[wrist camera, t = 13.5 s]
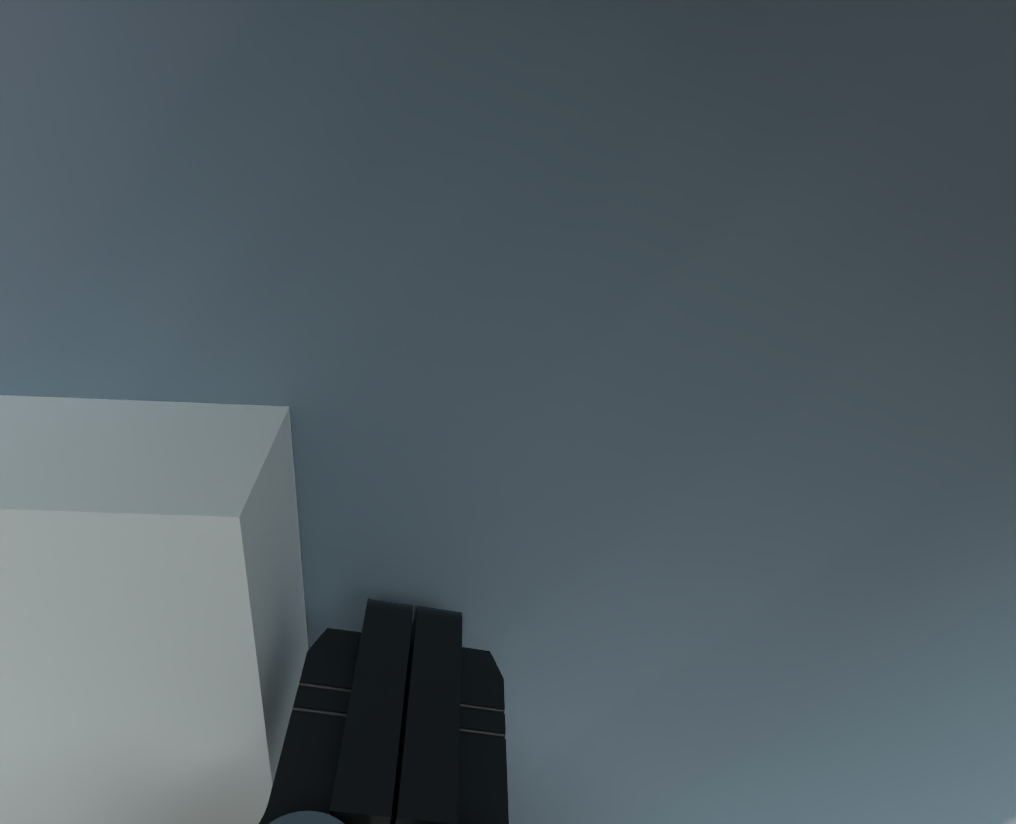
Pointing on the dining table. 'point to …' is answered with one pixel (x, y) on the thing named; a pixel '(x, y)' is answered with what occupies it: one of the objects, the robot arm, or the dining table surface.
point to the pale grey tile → (146, 609)
